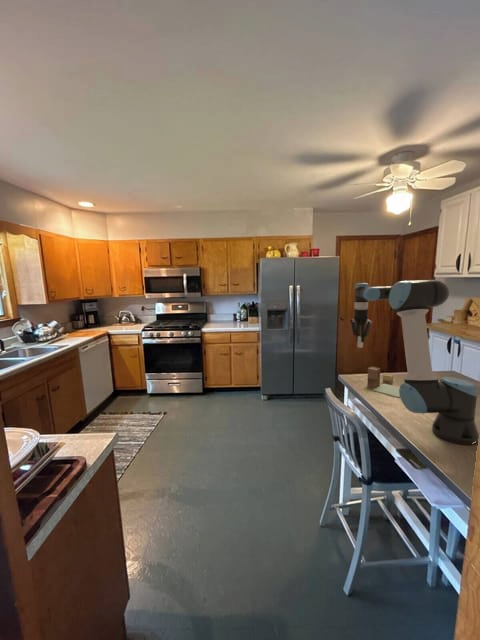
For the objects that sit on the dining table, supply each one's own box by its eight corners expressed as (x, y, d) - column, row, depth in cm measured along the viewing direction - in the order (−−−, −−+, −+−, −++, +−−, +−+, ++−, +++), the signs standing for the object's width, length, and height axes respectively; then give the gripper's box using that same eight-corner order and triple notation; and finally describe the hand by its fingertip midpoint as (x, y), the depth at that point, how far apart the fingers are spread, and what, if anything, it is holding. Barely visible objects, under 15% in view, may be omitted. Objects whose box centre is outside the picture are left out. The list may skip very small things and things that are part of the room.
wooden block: (375, 388, 165) (376, 370, 164) (367, 386, 169) (367, 368, 168) (379, 386, 168) (380, 368, 167) (371, 383, 172) (372, 366, 171)
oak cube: (391, 384, 170) (392, 376, 170) (382, 382, 173) (382, 375, 173) (393, 382, 174) (393, 374, 174) (384, 380, 177) (384, 372, 177)
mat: (398, 397, 151) (398, 396, 151) (372, 390, 162) (372, 389, 162) (409, 390, 160) (409, 389, 160) (384, 384, 171) (384, 383, 171)
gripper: (375, 309, 166) (374, 347, 170) (353, 307, 177) (352, 344, 180) (369, 310, 162) (368, 350, 165) (347, 308, 172) (346, 346, 176)
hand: (360, 347), depth 173 cm, fingers closed
